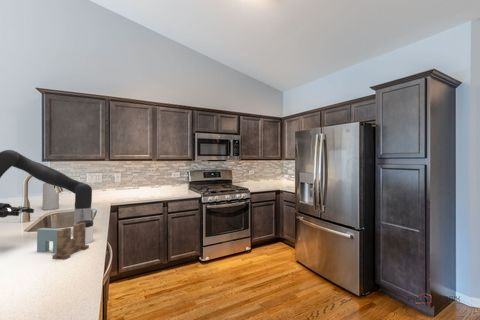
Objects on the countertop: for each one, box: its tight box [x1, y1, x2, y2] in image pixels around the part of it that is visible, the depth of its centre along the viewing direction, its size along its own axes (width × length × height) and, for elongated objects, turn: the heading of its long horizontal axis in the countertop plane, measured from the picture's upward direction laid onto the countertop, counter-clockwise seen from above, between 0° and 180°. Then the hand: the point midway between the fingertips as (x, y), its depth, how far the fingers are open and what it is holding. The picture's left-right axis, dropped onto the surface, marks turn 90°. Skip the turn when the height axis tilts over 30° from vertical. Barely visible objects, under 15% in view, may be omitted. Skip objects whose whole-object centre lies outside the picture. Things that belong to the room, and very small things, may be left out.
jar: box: [77, 219, 94, 245], centre depth 145 cm, size 9×8×12 cm
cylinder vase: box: [42, 182, 60, 211], centre depth 235 cm, size 12×12×25 cm
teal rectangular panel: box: [36, 227, 62, 254], centre depth 129 cm, size 14×2×12 cm, turn 84°
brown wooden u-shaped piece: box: [51, 223, 90, 260], centre depth 127 cm, size 16×7×14 cm, turn 174°
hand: (26, 212), depth 130 cm, fingers open, 8 cm apart
